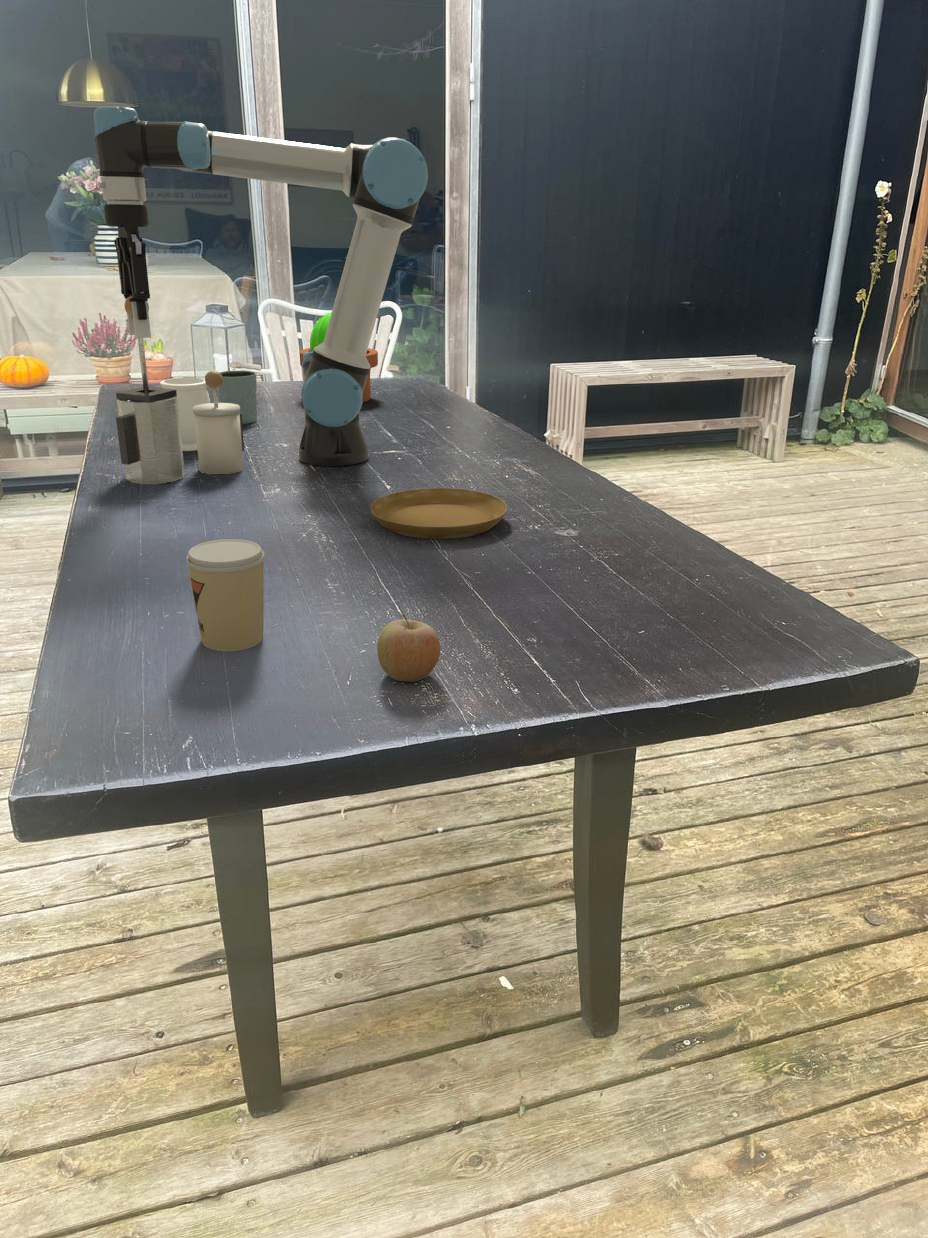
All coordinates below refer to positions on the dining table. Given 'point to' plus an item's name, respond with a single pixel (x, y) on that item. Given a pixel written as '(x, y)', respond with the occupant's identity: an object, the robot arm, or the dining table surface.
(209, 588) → the coffee cup
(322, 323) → the potted cactus
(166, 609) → the dining table surface
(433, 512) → the plant saucer
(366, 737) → the dining table surface
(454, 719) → the dining table surface
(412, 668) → the fruit
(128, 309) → the plunger
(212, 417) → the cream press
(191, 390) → the jar
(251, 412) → the teal pot
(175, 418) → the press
